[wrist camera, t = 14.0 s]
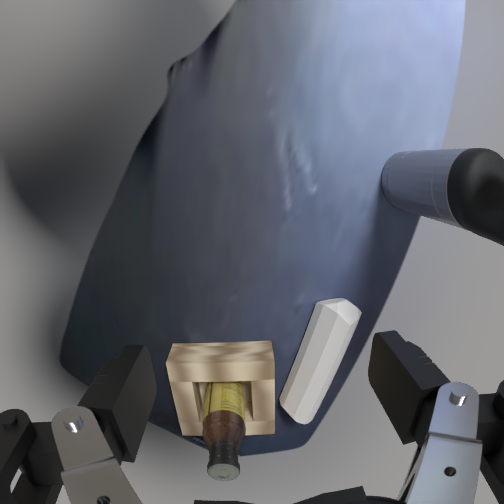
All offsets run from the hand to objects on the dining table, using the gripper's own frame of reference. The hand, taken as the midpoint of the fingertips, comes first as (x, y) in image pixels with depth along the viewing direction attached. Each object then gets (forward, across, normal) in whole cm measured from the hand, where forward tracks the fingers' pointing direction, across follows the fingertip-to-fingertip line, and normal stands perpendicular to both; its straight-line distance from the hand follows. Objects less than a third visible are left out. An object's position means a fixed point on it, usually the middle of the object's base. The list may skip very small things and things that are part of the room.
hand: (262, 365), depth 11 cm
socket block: (+36, +5, +28) cm, 46 cm away
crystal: (+37, -11, +24) cm, 45 cm away
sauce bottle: (+35, +5, +28) cm, 45 cm away
